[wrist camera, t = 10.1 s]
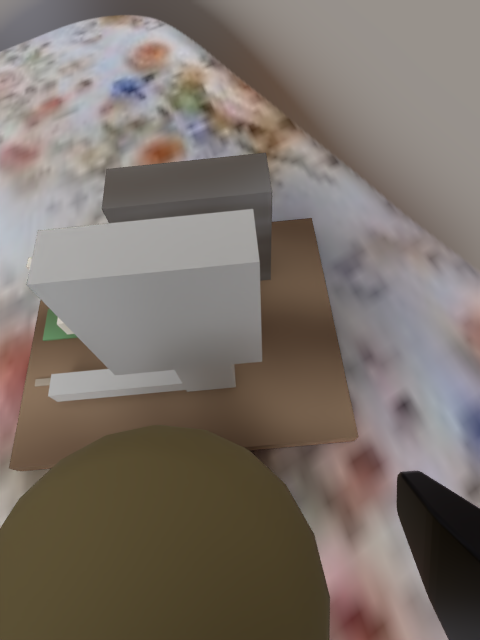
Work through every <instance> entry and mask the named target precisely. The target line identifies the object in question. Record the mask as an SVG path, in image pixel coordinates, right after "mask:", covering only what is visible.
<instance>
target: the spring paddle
mask: <svg viewBox="0 0 480 640" xmlns="http://www.w3.org/2000/svg"><path fill="white" fill-rule="evenodd" d="M26 285H27V286H28V287H29V288H30V289H31V290H32V291H33V292H34V293H35V294H36V295H37V296H38V297H39V298H40V299H41V300H42V301H43V302H44V303H45V304H46V305H47V306H48V307H49V308H50V309H51V310H52V311H53V312H54V313H55V314H56V316H57V317H58V318H59V319H60V320H61V321H62V322H63V323H64V324H65V325H66V326H67V327H68V328H69V329H70V330H71V331H72V332H73V333H74V334H75V335H76V336H77V337H78V338H79V339H80V340H81V341H82V342H83V343H84V344H85V345H86V346H87V347H88V348H89V349H90V350H91V351H92V352H93V353H94V354H95V355H96V356H97V357H98V358H99V359H100V360H101V361H102V363H103V364H104V365H105V366H106V367H107V368H108V369H102V370H91V371H80V372H70V373H59V374H51V380H50V386H49V393H48V396H49V397H50V398H52V399H54V400H55V401H57V402H62V401H72V400H83V399H94V398H104V397H115V396H126V395H137V394H147V393H158V392H169V391H180V390H186V391H187V392H190V391H201V390H212V389H223V388H233V387H236V380H235V367H234V364H242V363H253V362H262V333H261V294H260V261H259V253H258V244H257V236H256V228H255V220H254V212H253V209H247V210H237V211H227V212H217V213H207V214H197V215H187V216H177V217H167V218H157V219H147V220H137V221H127V222H117V223H107V224H97V225H87V226H77V227H67V228H58V229H48V230H38V232H37V237H36V242H35V246H34V251H33V256H32V261H31V265H30V270H29V275H28V279H27V284H26Z"/></svg>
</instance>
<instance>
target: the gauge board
mask: <svg viewBox="0 0 480 640" xmlns="http://www.w3.org/2000/svg"><path fill="white" fill-rule="evenodd" d="M247 209H253V212H254V220H255V228H256V236H257V244H258V253H259V261H260V294H261V333H262V362H253V363H242V364H234V367H235V380H236V387H233V388H223V389H212V390H201V391H190V392H187V391H186V390H180V391H169V392H158V393H147V394H137V395H126V396H115V397H104V398H94V399H83V400H72V401H62V402H57V401H55V400H54V399H52V398H50V397H49V396H48V393H49V386H50V380H51V374H59V373H70V372H80V371H91V370H102V369H108V368H107V367H106V366H105V365H104V364H103V363H102V361H101V360H100V359H99V358H98V357H97V356H96V355H95V354H94V353H93V352H92V351H91V350H90V349H89V348H88V347H87V346H86V345H85V344H84V343H83V342H82V341H81V340H80V339H79V338H78V337H77V336H76V335H75V334H66V333H65V332H64V331H63V330H62V329H61V328H60V327H59V326H58V325H57V319H58V317H57V316H56V314H55V313H54V312H53V311H52V310H51V309H50V308H49V307H48V306H47V305H46V304H45V303H44V302H43V301H42V300H40V306H39V311H38V316H37V322H36V327H35V332H34V338H33V343H32V348H31V354H30V359H29V365H28V370H27V375H26V381H25V386H24V391H23V397H22V402H21V407H20V413H19V418H18V423H17V429H16V434H15V439H14V445H13V450H12V455H11V461H10V466H9V469H13V470H17V471H28V470H39V469H50V468H52V467H54V466H55V465H56V464H57V463H58V462H59V461H60V460H61V459H63V458H65V457H67V456H68V455H70V454H72V453H74V452H76V451H78V450H80V449H81V448H83V447H85V446H87V445H89V444H91V443H92V442H94V441H96V440H98V439H100V438H102V437H103V436H105V435H109V434H114V433H118V432H123V431H128V430H133V429H137V428H142V427H147V426H151V425H166V426H175V427H185V428H194V429H203V430H207V431H210V432H212V433H214V434H216V435H218V436H220V437H223V438H225V439H227V440H229V441H231V442H233V443H235V444H238V445H240V446H242V447H244V448H246V449H248V450H249V451H250V450H261V449H272V448H283V447H294V446H305V445H316V444H327V443H338V442H349V441H355V440H356V439H357V438H358V433H357V428H356V424H355V419H354V414H353V410H352V405H351V400H350V396H349V391H348V386H347V381H346V377H345V372H344V367H343V363H342V358H341V353H340V349H339V344H338V339H337V335H336V330H335V325H334V320H333V316H332V311H331V306H330V302H329V297H328V292H327V288H326V283H325V278H324V274H323V269H322V264H321V259H320V255H319V250H318V245H317V241H316V236H315V231H314V227H313V222H312V218H307V219H297V220H287V221H277V222H272V188H271V182H270V175H269V169H268V163H267V156H266V153H259V154H249V155H239V156H230V157H220V158H210V159H201V160H191V161H181V162H171V163H162V164H152V165H142V166H132V167H123V168H113V169H106V178H105V186H104V195H103V204H102V210H103V212H104V214H105V216H106V218H107V220H108V222H109V223H117V222H127V221H137V220H147V219H157V218H167V217H177V216H187V215H197V214H207V213H217V212H227V211H237V210H247Z"/></svg>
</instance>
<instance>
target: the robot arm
mask: <svg viewBox="0 0 480 640" xmlns="http://www.w3.org/2000/svg"><path fill="white" fill-rule="evenodd" d="M397 512H398V516H399V519H400V522H401V525H402V527H403V530H404V533H405V535H406V538H407V541H408V544H409V546H410V549H411V552H412V554H413V557H414V560H415V563H416V565H417V568H418V571H419V573H420V576H421V579H422V582H423V584H424V587H425V589H426V592H427V594H428V597H429V599H430V601H431V604H432V606H433V608H434V610H435V612H436V614H437V616H438V618H439V621H440V623H441V625H442V627H443V629H444V631H445V633H446V635H447V637H448V639H449V640H480V508H478V507H476V506H475V505H473V504H472V503H470V502H468V501H467V500H465V499H464V498H462V497H460V496H459V495H457V494H456V493H454V492H452V491H451V490H449V489H448V488H446V487H445V486H443V485H441V484H440V483H438V482H437V481H435V480H433V479H432V478H430V477H429V476H427V475H425V474H424V473H422V472H420V471H407V472H400V473H399V474H398V477H397Z"/></svg>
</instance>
